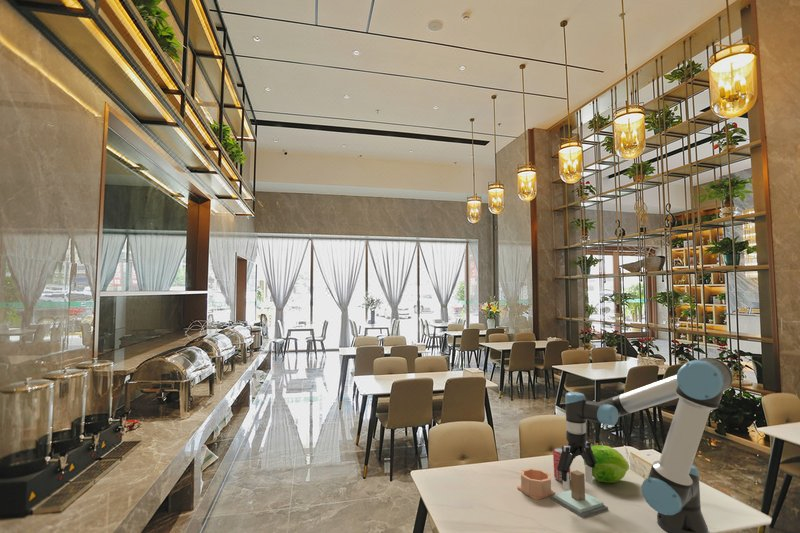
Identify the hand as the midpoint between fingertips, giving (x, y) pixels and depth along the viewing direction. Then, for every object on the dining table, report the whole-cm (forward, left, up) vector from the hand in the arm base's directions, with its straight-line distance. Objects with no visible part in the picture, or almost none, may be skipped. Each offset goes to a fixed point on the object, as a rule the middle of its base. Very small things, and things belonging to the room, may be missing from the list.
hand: (577, 485), depth 159 cm
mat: (0, 0, -7) cm, 7 cm away
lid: (0, 0, -6) cm, 6 cm away
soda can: (+19, -12, -7) cm, 24 cm away
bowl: (+15, +8, -7) cm, 18 cm away
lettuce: (+9, -30, -7) cm, 32 cm away
